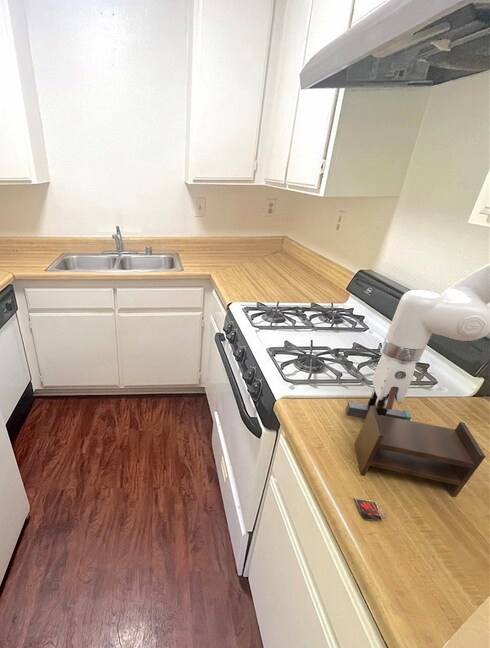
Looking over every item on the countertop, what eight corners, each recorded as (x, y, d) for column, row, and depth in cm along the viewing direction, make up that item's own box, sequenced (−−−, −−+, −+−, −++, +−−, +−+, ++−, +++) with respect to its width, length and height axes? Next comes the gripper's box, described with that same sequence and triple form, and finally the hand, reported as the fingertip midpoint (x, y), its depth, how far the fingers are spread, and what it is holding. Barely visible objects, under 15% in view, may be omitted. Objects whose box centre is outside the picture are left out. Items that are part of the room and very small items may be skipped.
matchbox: (365, 522, 62) (366, 520, 62) (349, 498, 66) (350, 497, 66) (389, 520, 62) (390, 519, 62) (373, 497, 66) (373, 495, 66)
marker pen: (404, 419, 84) (408, 410, 83) (406, 426, 82) (411, 417, 81) (345, 409, 88) (348, 400, 86) (346, 415, 86) (349, 406, 84)
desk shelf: (439, 461, 75) (464, 422, 69) (455, 497, 67) (485, 456, 61) (354, 443, 79) (371, 405, 73) (360, 475, 71) (379, 435, 65)
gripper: (433, 370, 67) (398, 440, 78) (411, 336, 80) (384, 401, 90) (390, 364, 69) (361, 433, 79) (376, 332, 82) (352, 395, 92)
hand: (373, 415), depth 85 cm, fingers closed on marker pen, 2 cm apart
